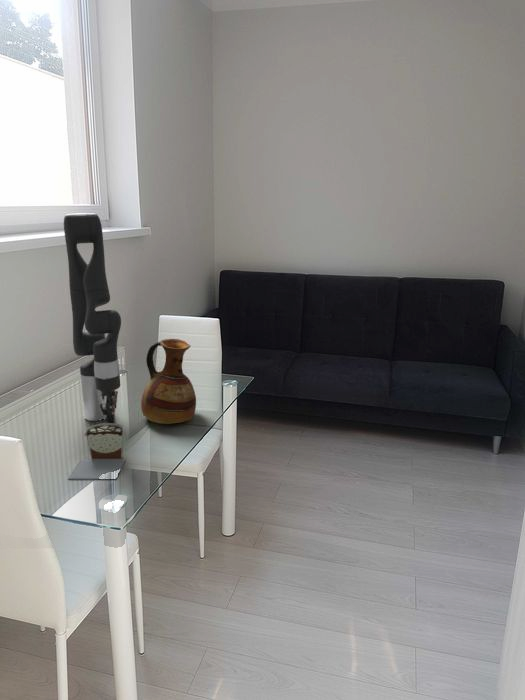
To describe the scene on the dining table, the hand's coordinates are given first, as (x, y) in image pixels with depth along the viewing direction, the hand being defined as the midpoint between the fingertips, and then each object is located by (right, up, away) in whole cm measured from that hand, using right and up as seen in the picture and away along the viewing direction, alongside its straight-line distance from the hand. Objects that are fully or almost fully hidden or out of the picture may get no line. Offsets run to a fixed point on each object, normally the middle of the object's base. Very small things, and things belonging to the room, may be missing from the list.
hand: (111, 424), depth 169 cm
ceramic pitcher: (+14, -2, +25) cm, 29 cm away
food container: (0, -10, -2) cm, 10 cm away
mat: (-1, -12, -11) cm, 16 cm away
